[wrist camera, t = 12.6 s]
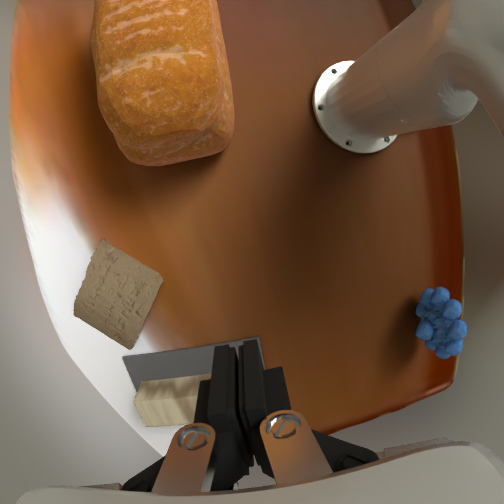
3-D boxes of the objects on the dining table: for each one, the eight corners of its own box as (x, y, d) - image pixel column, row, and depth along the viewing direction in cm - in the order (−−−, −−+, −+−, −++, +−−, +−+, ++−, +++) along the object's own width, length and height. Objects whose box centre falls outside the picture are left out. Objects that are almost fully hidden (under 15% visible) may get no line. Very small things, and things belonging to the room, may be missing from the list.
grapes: (391, 283, 42) (438, 316, 31) (428, 268, 42) (479, 294, 31) (399, 348, 45) (437, 389, 33) (432, 332, 45) (474, 367, 33)
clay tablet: (104, 233, 38) (96, 237, 36) (170, 269, 40) (166, 276, 38) (73, 319, 41) (65, 327, 38) (131, 352, 43) (126, 362, 40)
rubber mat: (258, 336, 42) (258, 337, 42) (273, 409, 46) (273, 411, 45) (123, 356, 42) (122, 357, 42) (153, 424, 45) (153, 426, 45)
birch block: (218, 393, 38) (133, 401, 38) (226, 419, 39) (146, 426, 39) (219, 371, 43) (141, 381, 43) (226, 397, 44) (152, 406, 44)
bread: (211, -19, 31) (206, -88, 16) (240, 152, 37) (247, 136, 22) (116, 3, 31) (78, -54, 16) (133, 174, 37) (79, 174, 22)
